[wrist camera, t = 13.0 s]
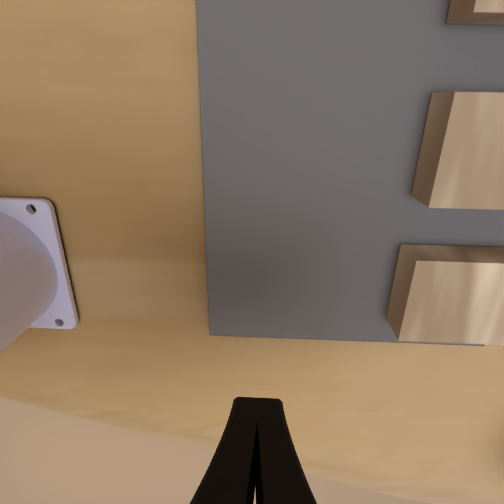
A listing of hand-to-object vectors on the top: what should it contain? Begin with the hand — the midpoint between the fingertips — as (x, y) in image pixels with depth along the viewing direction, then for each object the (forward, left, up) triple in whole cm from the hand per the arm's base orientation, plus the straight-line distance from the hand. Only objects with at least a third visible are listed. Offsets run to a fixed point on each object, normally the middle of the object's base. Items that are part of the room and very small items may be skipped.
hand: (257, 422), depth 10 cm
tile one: (+7, 0, -8) cm, 11 cm away
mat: (+5, +7, -10) cm, 13 cm away
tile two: (+7, +7, -8) cm, 13 cm away
